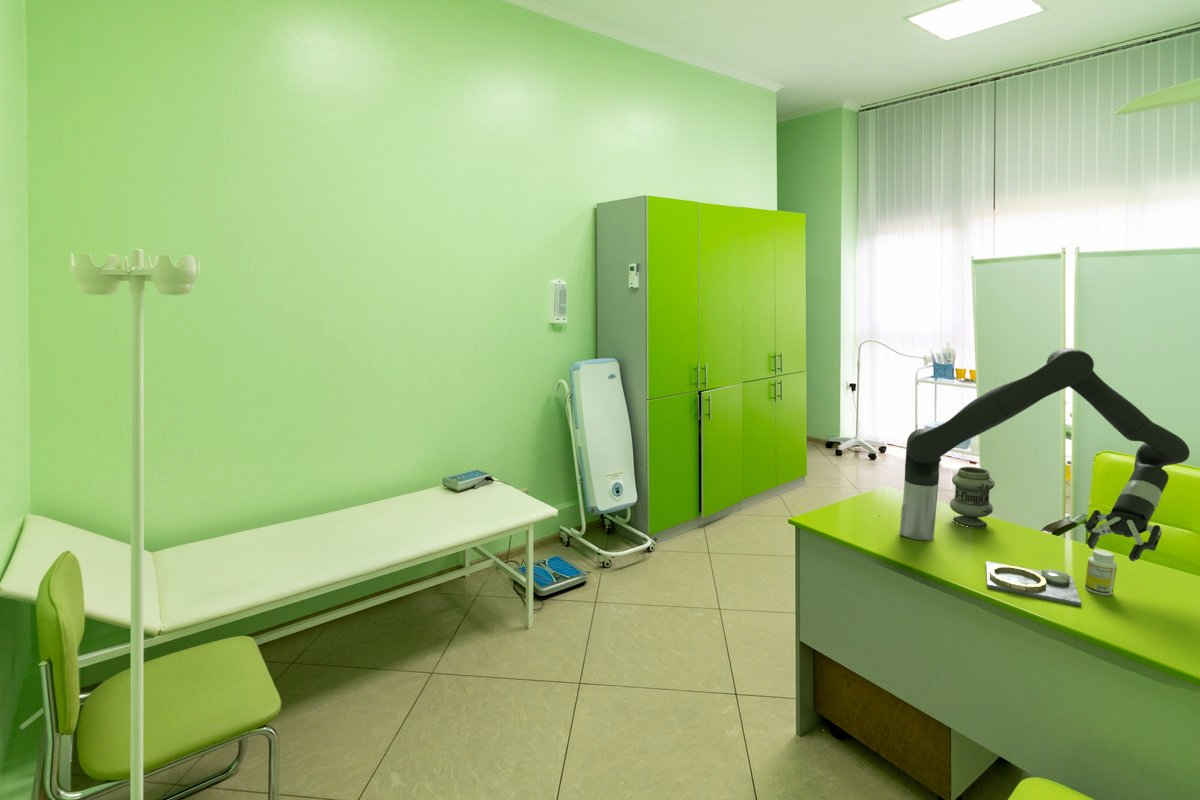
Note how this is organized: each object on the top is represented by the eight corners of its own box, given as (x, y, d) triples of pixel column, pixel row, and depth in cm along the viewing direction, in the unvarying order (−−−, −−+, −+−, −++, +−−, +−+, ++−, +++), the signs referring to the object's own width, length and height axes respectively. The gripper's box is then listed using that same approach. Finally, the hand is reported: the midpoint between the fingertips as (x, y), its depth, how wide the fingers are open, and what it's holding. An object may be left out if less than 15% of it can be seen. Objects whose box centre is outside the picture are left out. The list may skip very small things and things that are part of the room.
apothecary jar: (948, 514, 209) (953, 462, 206) (990, 520, 203) (995, 467, 200) (947, 525, 199) (952, 471, 196) (991, 532, 193) (997, 477, 190)
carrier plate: (987, 587, 156) (988, 578, 156) (985, 564, 170) (986, 555, 170) (1080, 606, 147) (1082, 596, 146) (1071, 580, 160) (1072, 571, 160)
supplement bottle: (1097, 584, 158) (1102, 547, 156) (1118, 595, 152) (1124, 556, 151) (1078, 586, 157) (1083, 549, 155) (1099, 597, 151) (1105, 558, 150)
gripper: (1100, 486, 163) (1073, 535, 159) (1169, 501, 151) (1142, 555, 147) (1107, 502, 166) (1081, 551, 163) (1175, 518, 154) (1149, 571, 150)
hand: (1110, 553), depth 155 cm, fingers open, 8 cm apart
